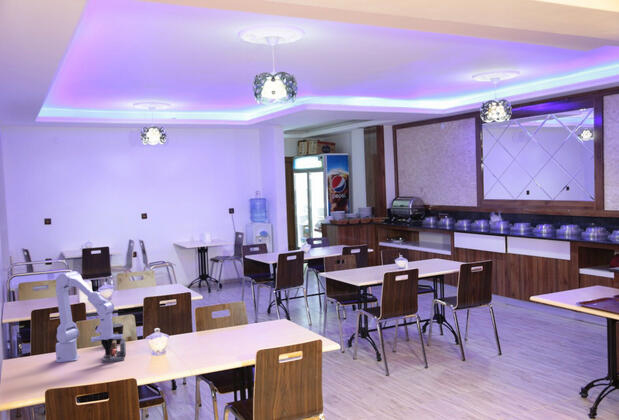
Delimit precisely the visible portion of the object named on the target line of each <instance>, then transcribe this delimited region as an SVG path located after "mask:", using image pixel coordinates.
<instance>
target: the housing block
mask: <svg viewBox="0 0 619 420" xmlns="http://www.w3.org/2000/svg"><path fill="white" fill-rule="evenodd" d="M117 346H118V345H116V340H114V341H113V342H112V345H111V348H110V355H111V349H116V353H117V351H118V347H117ZM104 355H105V356H108V355H106V351H105V350H104Z"/></svg>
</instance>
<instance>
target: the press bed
mask: <svg viewBox="0 0 619 420" xmlns="http://www.w3.org/2000/svg"><path fill="white" fill-rule="evenodd" d="M126 347H127V346H126V339H125V338H123V340H121V342H120V344H119V350H117V353H116V354H117V358H115V359H110V356H111V355H108V356H105V354H103V358H102V361H101V362H102V364H105V363H114V362H124V361H125V357H126V355H127V348H126Z"/></svg>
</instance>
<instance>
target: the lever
mask: <svg viewBox="0 0 619 420" xmlns="http://www.w3.org/2000/svg"><path fill="white" fill-rule="evenodd" d="M115 358H117V354H116V349H111V356H110V359H115Z"/></svg>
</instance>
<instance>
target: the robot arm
mask: <svg viewBox="0 0 619 420" xmlns="http://www.w3.org/2000/svg"><path fill="white" fill-rule="evenodd" d="M55 281H56V283H55V285H56V286H55V294H56V300H57V308H58V313H59V314H58V315H59V322H60V324H59V325H58V327H57V328H56V331H57V332H56V341H57V342H56V343H55V357H56V360H55V361H56V362H55V363H64V362H65V363H66V362H73V361H75V362H76V361H78V359H79V357H80V355H79V354H78V349H77V340H78V337H79V336H80V330H79V329H78V327H77V323H75V322H74V321H73V316H72V314H73V313H72V308H71V302H70V293H69V290H71V289H72V287H74V288H77V289H78V290H79V291H80V292H82V294H84V295H85V296H86V297H87V301H88V302H89V303H90V304H91V305H92V306H93V307H94V308H95V309H96V310H95V311H96V313H97V314H98V319H99V329H100V330H99V333H100V332H101V335H97V336H91V337H90V341H91V343H94V342H100V343H101V345H102V347H103V350H104V352H105V351H106V355H110V348H111V345H112V342H113V339H124V333H123V334H113V324H114V323H113V312H114V310H115V306H114V303H113V302H112V301H111V300H110V301H109V300H106V299H105V298H104V297H103V296H102V295H101V293H100V292H99V291H93V289H92V288H90V286H89V285H88V284H87V282H86V281H84V279H83V277H82V275H81V274H80V272H78V271H76V270H72V271H68V272H64V273H60V274H58V275H57V276H56V278H55Z"/></svg>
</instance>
